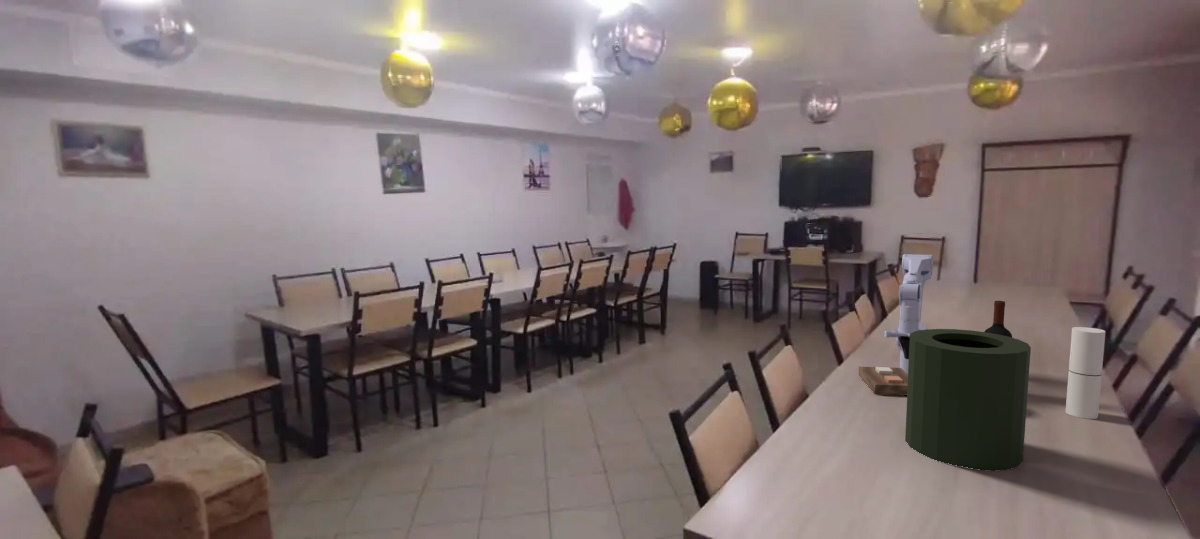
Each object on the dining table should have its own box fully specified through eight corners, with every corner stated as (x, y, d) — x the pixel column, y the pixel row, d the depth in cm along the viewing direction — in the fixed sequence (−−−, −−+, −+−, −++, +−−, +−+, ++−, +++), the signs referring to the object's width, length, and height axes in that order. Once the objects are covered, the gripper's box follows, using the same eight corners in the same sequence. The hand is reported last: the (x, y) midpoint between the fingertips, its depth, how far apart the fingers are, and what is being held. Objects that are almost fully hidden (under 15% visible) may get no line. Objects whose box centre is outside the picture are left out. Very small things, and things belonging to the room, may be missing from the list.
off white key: (888, 376, 195) (888, 367, 194) (892, 380, 191) (892, 371, 190) (875, 375, 196) (875, 366, 195) (878, 379, 191) (879, 370, 191)
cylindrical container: (1069, 416, 159) (1076, 331, 156) (1062, 408, 165) (1068, 326, 162) (1101, 420, 155) (1109, 333, 152) (1093, 411, 162) (1100, 328, 159)
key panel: (900, 377, 197) (900, 367, 196) (921, 396, 177) (922, 386, 177) (858, 375, 199) (858, 366, 199) (874, 394, 180) (875, 384, 180)
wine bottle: (999, 388, 183) (1005, 299, 179) (1014, 396, 175) (1020, 303, 172) (975, 388, 184) (980, 299, 180) (988, 396, 176) (994, 303, 173)
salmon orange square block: (898, 385, 185) (898, 376, 185) (902, 389, 181) (903, 380, 180) (883, 384, 186) (884, 375, 186) (888, 389, 182) (888, 379, 181)
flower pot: (966, 477, 126) (973, 358, 122) (882, 434, 150) (886, 333, 147) (1049, 461, 132) (1058, 347, 129) (956, 422, 156) (961, 325, 153)
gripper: (889, 321, 183) (888, 361, 185) (937, 321, 180) (935, 362, 182) (883, 316, 190) (881, 355, 191) (929, 317, 187) (927, 356, 189)
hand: (907, 358), depth 187 cm, fingers closed
